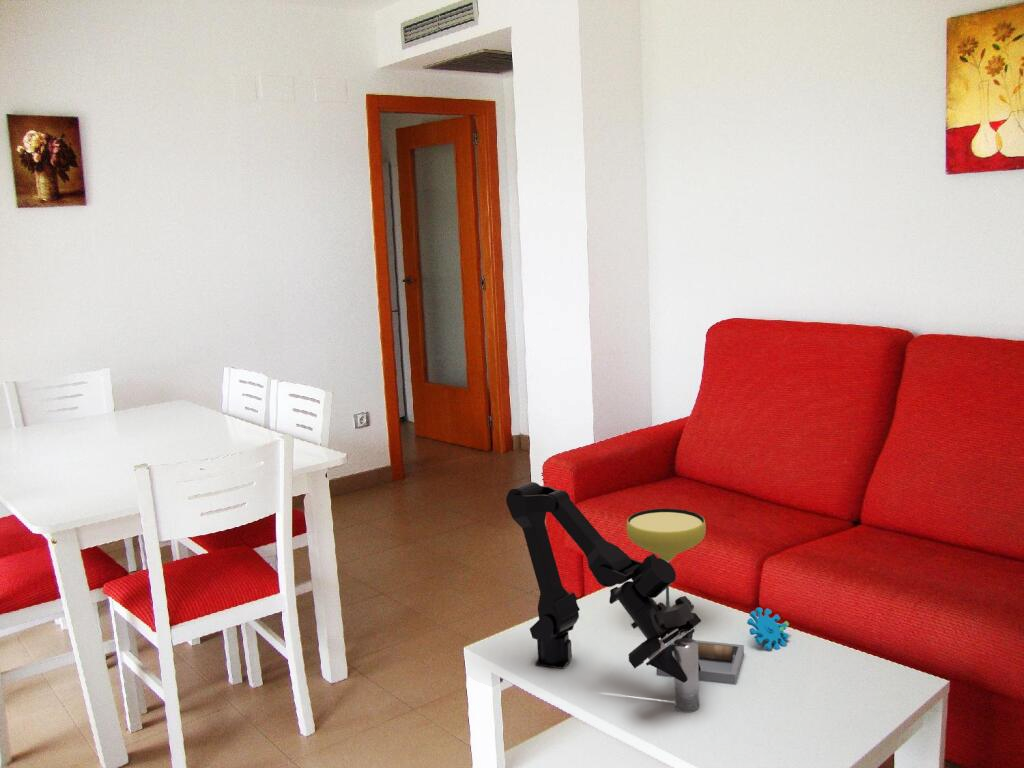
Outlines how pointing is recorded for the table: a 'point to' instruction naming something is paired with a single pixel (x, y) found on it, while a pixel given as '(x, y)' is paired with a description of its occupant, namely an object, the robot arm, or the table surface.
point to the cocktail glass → (666, 532)
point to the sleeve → (687, 675)
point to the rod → (715, 652)
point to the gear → (768, 629)
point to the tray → (717, 665)
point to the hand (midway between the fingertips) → (692, 676)
